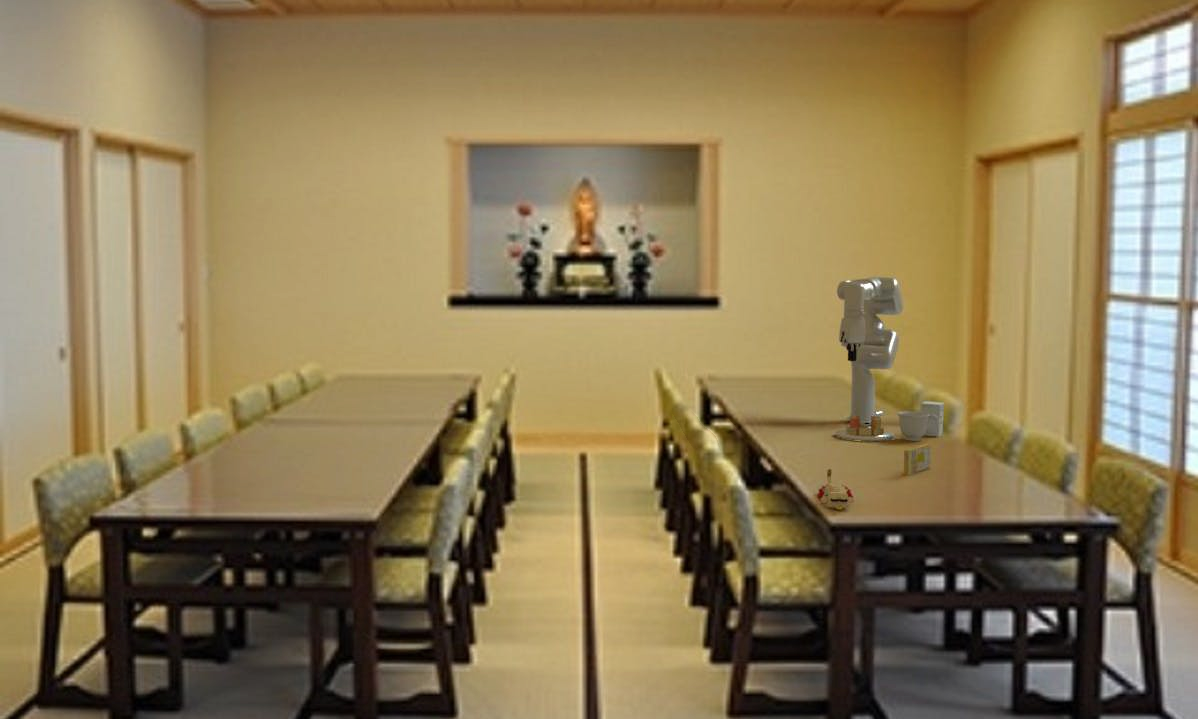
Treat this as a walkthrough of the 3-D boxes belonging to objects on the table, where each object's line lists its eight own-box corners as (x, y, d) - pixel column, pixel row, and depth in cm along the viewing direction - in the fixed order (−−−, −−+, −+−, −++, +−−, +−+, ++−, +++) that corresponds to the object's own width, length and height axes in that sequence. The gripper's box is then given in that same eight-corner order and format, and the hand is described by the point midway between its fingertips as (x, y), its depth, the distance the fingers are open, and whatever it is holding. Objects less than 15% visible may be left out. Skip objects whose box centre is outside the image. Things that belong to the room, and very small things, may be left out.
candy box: (924, 468, 413) (925, 443, 412) (930, 468, 412) (931, 444, 411) (902, 474, 401) (903, 449, 400) (908, 475, 399) (909, 450, 399)
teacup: (938, 443, 462) (939, 416, 461) (896, 441, 465) (897, 415, 464) (936, 438, 474) (937, 412, 473) (895, 436, 477) (896, 410, 476)
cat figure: (811, 497, 370) (821, 509, 345) (811, 468, 370) (822, 477, 345) (845, 498, 369) (857, 510, 344) (845, 469, 369) (858, 478, 344)
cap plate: (865, 430, 490) (866, 420, 490) (906, 439, 471) (907, 428, 471) (823, 435, 478) (823, 424, 478) (863, 443, 460) (864, 432, 459)
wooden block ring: (838, 431, 477) (838, 416, 476) (864, 428, 484) (865, 413, 484) (865, 436, 465) (865, 421, 464) (891, 433, 473) (892, 418, 472)
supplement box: (919, 435, 481) (920, 403, 479) (923, 432, 487) (925, 400, 486) (938, 437, 477) (940, 404, 476) (943, 434, 484) (944, 402, 482)
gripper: (861, 313, 497) (859, 359, 499) (832, 314, 490) (831, 360, 491) (874, 314, 491) (872, 361, 493) (845, 315, 483) (844, 362, 485)
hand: (852, 360), depth 492 cm, fingers closed
